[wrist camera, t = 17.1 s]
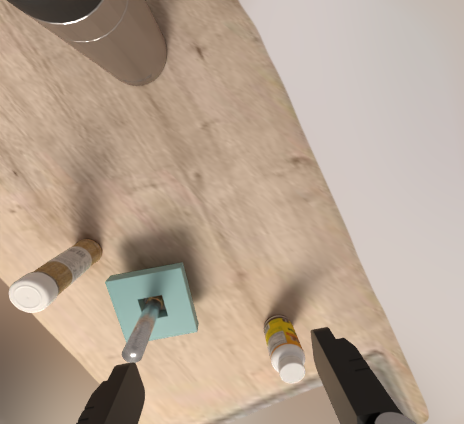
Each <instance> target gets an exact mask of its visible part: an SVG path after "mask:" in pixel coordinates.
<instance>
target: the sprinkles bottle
mask: <svg viewBox="0 0 464 424" xmlns="http://www.w3.org/2000/svg"><path fill="white" fill-rule="evenodd" d="M101 255H102V250H101V247H100V246H99V244H97V243H96V242H95V241H93V240H90V239H83V240H80V241H79V242H77V243H76V244H75V245H74V246H72V247H70V248H69V249H67V250H66V251H64V252H63V253H61V254H59V255H58V256H56V257H55V258H53V259H51V260H50V261H48V262H47V263H46V264H44V265H43V266H41V267H40V268H38V269H37V270H35V271H34V272H31V273H28V274H26V275H24V276H23V277H21V278H20V279H18V280H17V281H16V282H14V283H13V284H12V285H11V287H10V289H9V297H10V300H11V302H12V303H13V304H14V305H15V306H16V307H17V308H18V309H20V310H22V311H25V312H29V313H34V312H39V311H42V310H43V309H45V308H46V307H47V306H49V305H50V304H51V303H52V302H53V301H54V300H55V299H56V297H57V296H58V295H59V294H60V293H61V292H62V291H63V290H64V289H65V288H67V287H68V286H69V285H71V284H72V283H73V282H74V281H75V280H76V279H77V278H78V277H80V276H81V275H82V274H83V273H84V272H85V271H86V270H88V269H89V268H90V266H92V265H93V264H94V263H95V262H97V261H98V260H99V259H100V257H101Z"/></svg>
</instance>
